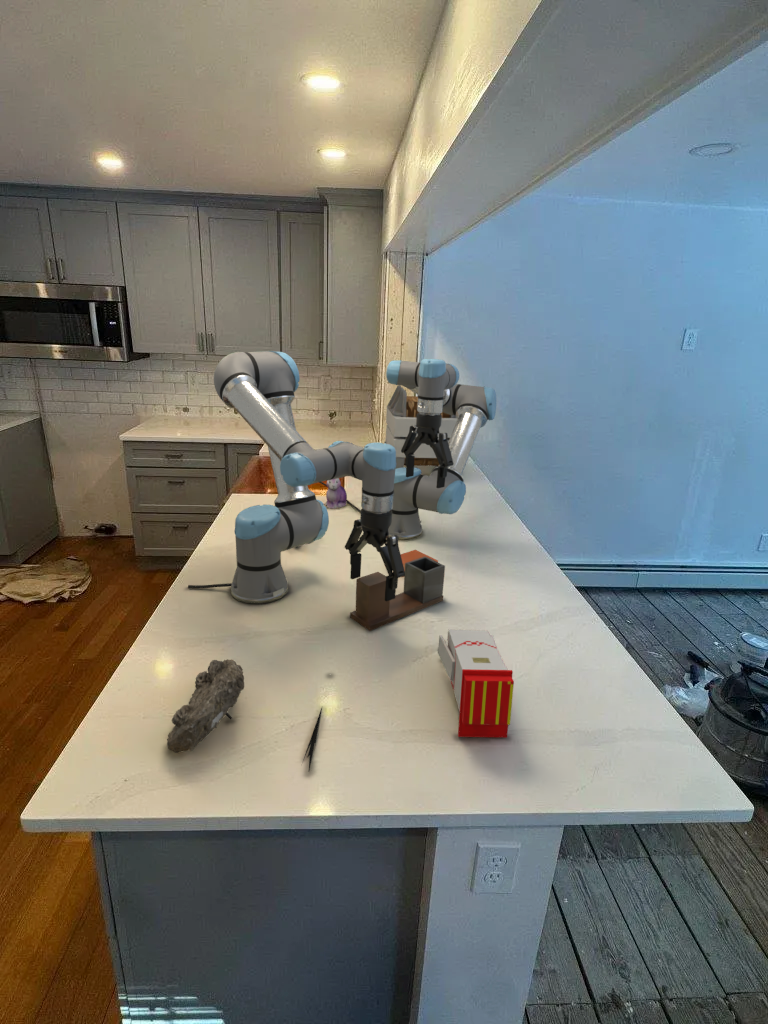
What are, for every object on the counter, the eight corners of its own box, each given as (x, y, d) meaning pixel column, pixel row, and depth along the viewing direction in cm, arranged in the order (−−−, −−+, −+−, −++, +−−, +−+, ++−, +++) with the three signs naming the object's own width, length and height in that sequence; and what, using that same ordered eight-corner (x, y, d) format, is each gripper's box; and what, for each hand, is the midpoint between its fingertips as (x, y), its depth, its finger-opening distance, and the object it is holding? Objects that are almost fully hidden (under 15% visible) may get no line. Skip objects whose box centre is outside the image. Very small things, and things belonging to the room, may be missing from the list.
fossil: (192, 660, 117) (244, 628, 112) (224, 691, 120) (276, 661, 115) (142, 746, 98) (202, 712, 93) (182, 779, 101) (242, 748, 96)
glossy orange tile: (390, 569, 172) (391, 557, 171) (414, 561, 178) (415, 549, 177) (413, 581, 165) (414, 568, 164) (437, 573, 171) (438, 560, 170)
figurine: (329, 510, 219) (330, 473, 214) (320, 502, 228) (320, 466, 222) (352, 507, 223) (353, 470, 218) (341, 499, 232) (342, 464, 227)
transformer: (382, 463, 289) (386, 382, 275) (445, 464, 293) (451, 384, 279) (390, 482, 257) (394, 392, 243) (460, 483, 261) (468, 394, 247)
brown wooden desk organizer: (350, 617, 145) (351, 577, 141) (422, 589, 161) (425, 552, 157) (369, 631, 139) (371, 589, 135) (443, 600, 155) (446, 562, 151)
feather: (331, 679, 122) (336, 673, 122) (307, 777, 96) (313, 769, 95) (324, 675, 122) (329, 669, 121) (298, 772, 95) (304, 764, 95)
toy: (488, 613, 130) (523, 677, 101) (484, 667, 133) (517, 744, 104) (435, 612, 130) (455, 676, 101) (432, 666, 133) (451, 743, 103)
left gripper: (333, 496, 141) (330, 572, 148) (400, 529, 123) (393, 614, 131) (356, 491, 145) (353, 565, 153) (424, 522, 128) (417, 604, 136)
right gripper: (392, 407, 175) (389, 473, 182) (451, 421, 157) (445, 494, 164) (409, 405, 179) (406, 470, 186) (469, 419, 162) (462, 490, 169)
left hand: (372, 588), depth 142 cm, fingers open, 13 cm apart
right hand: (424, 481), depth 175 cm, fingers open, 13 cm apart
